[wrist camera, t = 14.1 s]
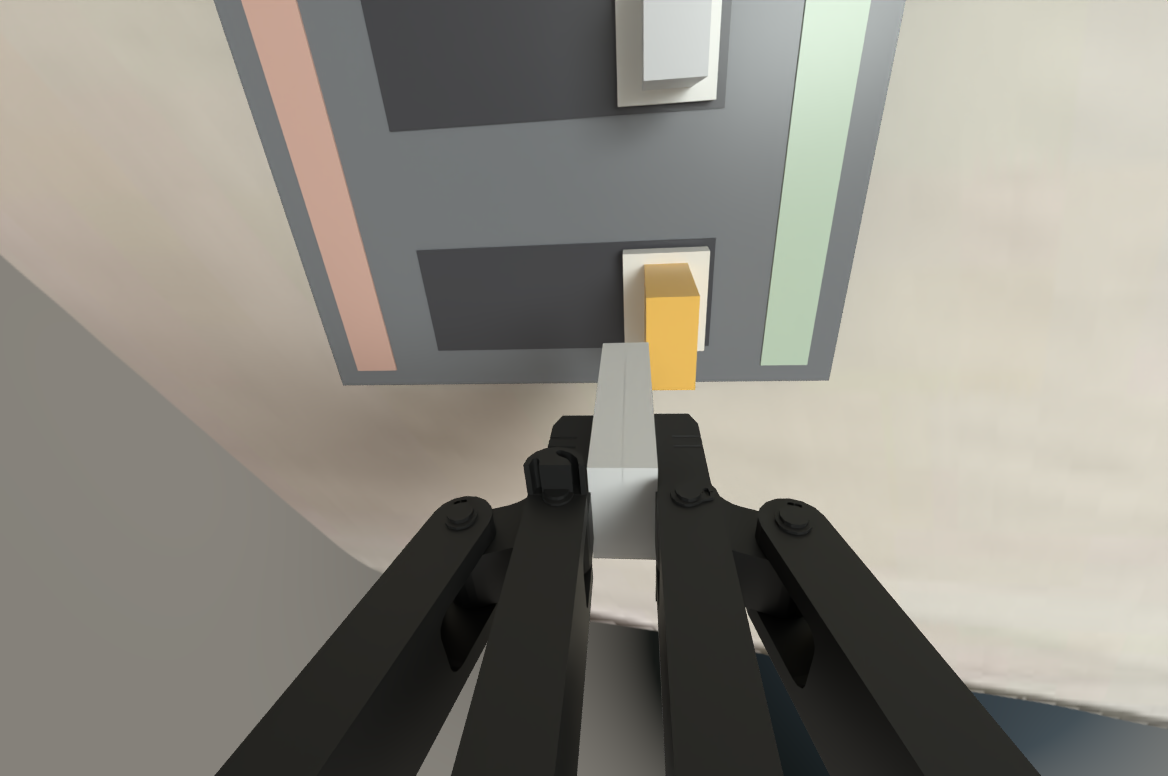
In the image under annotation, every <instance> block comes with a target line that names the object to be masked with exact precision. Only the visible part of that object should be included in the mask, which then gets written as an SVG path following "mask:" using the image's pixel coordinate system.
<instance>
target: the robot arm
mask: <svg viewBox="0 0 1168 776" xmlns="http://www.w3.org/2000/svg"><path fill="white" fill-rule="evenodd" d="M523 466H524V473H525V479H526V486H527V492H528V496H527V498H525V499H524V500H522V501H520V502H518V503H515V504H512V505H508V506H504V507H500V508H495V509H492V508H491V505H490V504H489V503H488V502H487V501H486V500H484V499H481V498H479V497H472V496H465V497H460V498H456V499H453V500H451V501H449V502H447V503H445V504H443V505H442V506H441V507H440V508H438V509H437V510H436V511H435V512H434V513H433V515H432V516H431V517H430V518H429V519H428V520H427V522H426V523H425V524H424V525H423V526H422V528H421V529H420V530H419V531H418V532H417V534H416V535H415V536H414V537H413V538H412V540H411V541H410V542H409V543H408V544H407V546H406V547H405V548H404V549H403V550H402V552H401V553H400V554H399V555H398V556H397V558H396V559H395V560H394V561H393V562H392V564H391V565H390V566H389V567H388V568H387V570H386V571H385V572H384V573H383V574H382V576H381V577H380V578H379V579H378V581H377V582H376V583H375V584H374V585H373V586H372V588H371V589H370V590H369V591H368V592H367V594H366V595H365V596H364V597H363V598H362V600H361V601H360V602H359V603H358V604H357V606H356V607H355V608H354V609H353V610H352V612H351V613H350V614H349V615H348V616H347V618H346V619H345V620H344V621H343V622H342V624H341V625H340V626H339V627H338V628H337V630H336V631H335V632H334V633H333V634H332V636H331V637H330V638H329V639H328V640H327V641H326V643H325V644H324V645H323V646H322V648H321V649H320V650H319V651H318V652H317V654H316V655H315V656H314V657H313V658H312V659H311V661H310V662H309V663H308V664H307V666H306V667H305V668H304V669H303V670H302V671H301V673H300V674H299V675H298V676H297V678H296V679H295V680H294V681H293V682H292V684H291V685H290V686H289V687H288V688H287V689H286V691H285V692H284V693H283V694H282V696H281V697H280V698H279V699H278V700H277V701H276V703H275V704H274V705H273V706H272V707H271V709H270V710H269V711H268V712H267V714H266V715H265V716H264V717H263V718H262V719H261V721H260V722H259V723H258V724H257V725H256V727H255V728H254V729H253V730H252V731H251V733H250V734H249V735H248V736H247V737H246V739H245V740H244V741H243V742H242V743H241V745H240V746H239V747H238V748H237V749H236V751H235V752H234V753H233V754H232V755H231V756H230V758H229V759H228V760H227V761H226V763H225V764H224V765H223V766H222V767H221V768H220V770H219V771H218V772H217V773H216V774H215V776H416V774H417V773H418V771H419V769H420V767H421V765H422V763H423V762H424V759H425V758H426V756H427V754H428V752H429V750H430V748H431V746H432V745H433V743H434V741H435V739H436V737H437V735H438V733H439V731H440V730H441V728H442V726H443V724H444V722H445V720H446V718H447V716H448V715H449V712H450V711H451V709H452V707H453V705H454V703H455V701H456V700H457V698H458V696H459V694H460V692H461V690H462V688H463V686H464V684H465V683H466V681H467V678H468V677H469V675H470V673H471V671H472V669H473V668H474V666H475V664H476V662H477V660H478V658H479V656H480V654H481V653H482V651H483V649H484V647H485V645H486V643H487V646H486V650H485V654H484V657H483V661H482V664H481V668H480V672H479V675H478V679H477V683H476V686H475V690H474V694H473V697H472V701H471V705H470V708H469V712H468V716H467V719H466V723H465V727H464V730H463V734H462V738H461V741H460V745H459V749H458V752H457V756H456V760H455V763H454V767H453V771H452V774H451V776H577V768H578V756H579V743H580V731H581V719H582V707H583V693H584V682H585V670H586V657H587V644H588V633H589V621H590V608H591V596H592V584H593V570H592V555H593V558H611V559H651V560H656V601H657V610H658V631H659V649H660V650H659V651H660V671H661V692H662V712H663V732H664V751H665V752H664V753H665V774H666V776H783V772H782V767H781V763H780V759H779V754H778V750H777V745H776V741H775V737H774V732H773V728H772V724H771V719H770V715H769V710H768V706H767V702H766V697H765V693H764V689H763V684H762V680H761V676H760V671H759V667H758V663H757V658H756V654H755V649H754V645H753V640H752V636H751V632H750V627H749V623H748V619H747V614H746V610H745V607H746V609H747V613H748V615H749V617H750V619H751V621H752V623H753V625H754V627H755V629H756V631H757V633H758V635H759V637H760V639H761V640H762V642H763V644H764V646H765V648H766V650H767V652H768V654H769V656H770V658H771V660H772V662H773V664H774V666H775V668H776V670H777V672H778V674H779V675H780V678H781V680H782V682H783V683H784V686H785V688H786V690H787V692H788V693H789V696H790V698H791V699H792V701H793V703H794V705H795V707H796V709H797V711H798V713H799V715H800V717H801V719H802V721H803V723H804V725H805V727H806V729H807V731H808V733H809V735H810V737H811V739H812V741H813V743H814V745H815V747H816V749H817V751H818V752H819V755H820V756H821V758H822V760H823V762H824V764H825V766H826V768H827V770H828V772H829V774H830V776H1041V775H1040V774H1039V773H1038V772H1037V770H1036V769H1035V768H1034V767H1033V766H1032V764H1031V763H1030V762H1029V761H1028V760H1027V758H1026V757H1025V756H1024V755H1023V754H1022V752H1021V751H1020V750H1019V749H1018V748H1017V746H1016V745H1015V744H1014V743H1013V742H1012V740H1011V739H1010V738H1009V737H1008V736H1007V734H1006V733H1005V732H1004V731H1003V730H1002V728H1000V726H999V725H998V724H997V722H996V721H995V720H994V719H993V718H992V716H991V715H990V714H989V713H988V712H987V710H986V709H985V708H984V707H983V706H982V704H981V703H980V702H979V701H978V700H977V699H976V697H975V696H974V695H973V694H972V692H971V691H970V690H969V689H968V688H967V686H966V685H965V684H964V683H963V682H962V680H961V679H960V678H959V677H958V676H957V674H956V673H955V672H954V671H953V670H952V668H951V667H950V666H949V665H948V664H947V662H946V661H945V660H944V659H943V658H942V656H941V655H940V654H939V653H938V652H937V650H936V649H935V648H934V647H933V646H932V644H931V643H930V642H929V641H928V640H927V638H926V637H925V636H924V635H923V634H922V632H921V631H920V630H919V629H918V628H917V626H916V625H915V624H914V623H913V622H912V620H911V619H910V618H909V617H908V616H907V614H906V613H905V612H904V611H903V610H902V608H901V607H900V606H899V605H898V604H897V602H896V601H895V600H894V599H893V598H892V596H891V595H890V594H889V593H888V592H887V591H886V589H885V588H884V587H883V586H882V585H881V583H880V582H879V581H878V580H877V579H876V577H875V576H874V575H873V574H872V573H871V571H870V570H869V569H868V568H867V567H866V565H865V564H864V563H863V562H862V561H861V559H860V558H859V557H858V556H857V555H856V553H855V552H854V551H853V550H852V549H851V547H850V546H849V545H848V544H847V543H846V541H845V540H844V539H843V538H842V537H841V535H840V534H839V533H838V532H837V531H836V529H835V528H834V527H833V526H832V525H831V523H830V522H829V521H828V520H827V519H826V517H825V516H824V515H823V514H821V513H820V512H819V511H818V510H817V509H816V508H814V507H812V506H810V505H808V504H806V503H804V502H802V501H798V500H793V499H774V500H771V501H768V502H766V503H765V504H764V505H763V506H762V507H761V508H760V509H759V511H756V510H752V509H748V508H744V507H740V506H737V505H734V504H732V503H730V502H728V501H726V500H724V499H723V498H722V497H720V496H719V494H718V492H717V490H716V489H715V488H714V487H713V486H712V484H711V481H710V477H709V472H708V468H707V463H706V458H705V454H704V449H703V445H702V440H701V435H700V431H699V426H698V423H697V422H696V421H695V420H694V419H693V418H692V417H691V416H690V415H689V414H654V409H653V396H652V382H651V369H650V356H649V342H639V343H603V347H602V354H601V362H600V370H599V378H598V385H597V393H596V401H595V409H594V416H562V417H561V418H560V419H559V420H558V421H557V422H556V423H555V424H554V426H553V429H552V433H551V437H550V440H549V444H548V448H545V449H543V450H540V451H537V452H535V453H534V454H532V455H531V456H530V457H528V458H527V460H526V462H525V463H524V465H523ZM487 641H488V642H487Z"/></svg>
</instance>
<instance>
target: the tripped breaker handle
mask: <svg viewBox="0 0 1168 776" xmlns="http://www.w3.org/2000/svg"><path fill="white" fill-rule="evenodd" d="M709 263H710V250H709V248H708V246H701V247H676V248H652V249H627V250H623V291H624V335H625V343H639V342H649V356H650V369H651V382H652V390H695V381H696V362H697V351H704V343H705V327H706V311H707V295H708V279H709Z"/></svg>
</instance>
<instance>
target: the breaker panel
mask: <svg viewBox="0 0 1168 776" xmlns="http://www.w3.org/2000/svg"><path fill="white" fill-rule="evenodd" d="M905 1H906V0H214V3H215V6H216V9H217V12H218V15H219V18H220V21H221V24H222V27H223V30H224V33H225V35H226V38H227V41H228V44H229V47H230V50H231V53H232V56H233V59H234V62H235V65H236V68H237V71H238V74H239V77H240V80H241V83H242V86H243V89H244V92H245V95H246V98H247V101H248V104H249V107H250V110H251V113H252V116H253V119H254V122H255V125H256V128H257V131H258V134H259V136H260V139H261V142H262V145H263V148H264V151H265V154H266V157H267V160H268V163H269V166H270V169H271V172H272V175H273V178H274V181H275V184H276V187H277V190H278V193H279V196H280V199H281V202H282V205H283V208H284V211H285V214H286V217H287V220H288V223H289V226H290V229H291V232H292V235H293V237H294V240H295V243H296V246H297V249H298V252H299V255H300V258H301V261H302V264H303V267H304V270H305V273H306V276H307V279H308V282H309V285H310V288H311V291H312V294H313V297H314V300H315V303H316V306H317V309H318V312H319V315H320V318H321V321H322V324H323V327H324V330H325V333H326V335H327V338H328V341H329V344H330V347H331V350H332V353H333V356H334V359H335V362H336V365H337V368H338V371H339V374H340V377H341V380H342V383H343V385H420V384H520V383H598V378H599V370H600V362H601V354H602V347H603V343H625V335H624V291H623V250H627V249H652V248H676V247H701V246H708V248H709V250H710V263H709V279H708V295H707V311H706V327H705V343H704V351H697V362H696V381H695V382H719V381H819V380H829V377H830V372H831V367H832V362H833V357H834V352H835V347H836V342H837V337H838V332H839V327H840V323H841V318H842V313H843V308H844V303H845V298H846V293H847V288H848V283H849V278H850V273H851V268H852V263H853V258H854V253H855V248H856V243H857V239H858V234H859V229H860V224H861V219H862V214H863V209H864V204H865V199H866V194H867V189H868V184H869V179H870V174H871V169H872V164H873V160H874V155H875V150H876V145H877V140H878V135H879V130H880V125H881V120H882V115H883V110H884V105H885V100H886V95H887V90H888V85H889V80H890V76H891V71H892V66H893V61H894V56H895V51H896V46H897V41H898V36H899V31H900V26H901V21H902V16H903V11H904V6H905Z"/></svg>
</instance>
